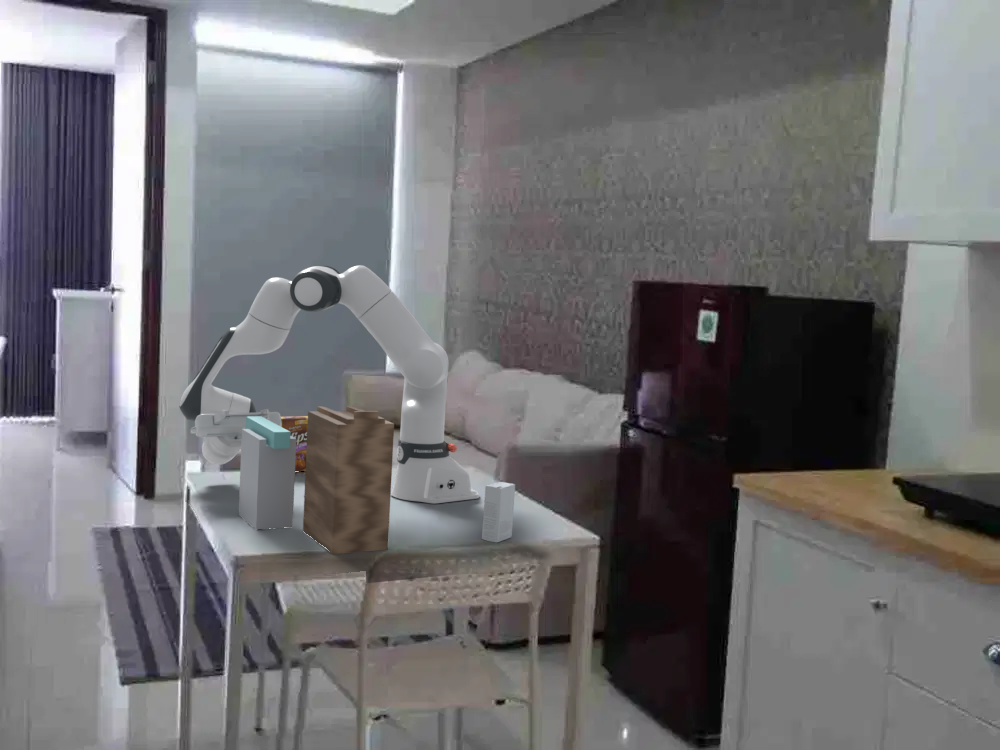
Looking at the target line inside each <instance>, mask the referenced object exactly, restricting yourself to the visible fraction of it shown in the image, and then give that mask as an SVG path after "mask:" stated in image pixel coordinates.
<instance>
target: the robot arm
mask: <svg viewBox="0 0 1000 750" xmlns="http://www.w3.org/2000/svg"><path fill="white" fill-rule="evenodd" d="M337 304H339V305H340V304H341V305H343V306H345V307H346V308H348V310H349V311H350V312H351V313H352V314H353V315H354V316H355V318H356V319H357V320H358V321H359V322H360V323H361V324H362V326H363V327H364V328H365V329H366V330H367V331H368V333H369V334H370V335H371V336H372V337H373V339H375V341H376V342H377V344H378V345H379V346H380V347H381V349H382V350H383V352H385V354H386V356H387V357H388V358H389V359H390V360H391V362H392V363H393V365H394V366H395V367H396V369H397V370H398V371H399V372H400V374H401V375H402V376H403V377H404V378H403V379H404V380H403V392H402V403H401V412H400V413H401V414H400V415H401V416H400V430H399V431H400V436H399V439H398V442H397V450H396V453H397V454H396V456H397V458H396V460H397V467H396V473H395V477H394V481H393V482H394V483H393V486H392V487H391V496H392V497H394V498H396V499H400V500H405V501H410V502H411V501H412V502H422V503H426V504H442V503H450V502H458V501H464V500H466V501H467V500H474V499H479V497H480V494H479V492H478V491H477V490H475V488H472V487H471V478H470V474H469V472H468V471H467V470H466V468H464V467H463V466H462V465H460V463H458V461H456V460H455V459H453V458H452V457H451V456H450V452H451V453H454V454H455V453H456V452H457V451H458V448H457V447H458V446H457V445H456V444H454V443H448V442H446V441H444V439H445V421H446V407H447V393H448V392H447V391H448V390H447V389H448V377H449V375H448V374H449V356H448V354H447V352H446V350H445V349H444V347H443V346H441V345H440V344H439V343H437V342H434V341H433V340H432V338H431V337H430V336H429V335H428V333H427V332H426V331H425V329H424V328H423V327H422V326H421V324H420V323H419V322H418V320H417V318H415V316H414V315H413V314H412V313H411V311H410V310H409V309H408V308H407V307H406V306H405V304H404V303H403V302H402V301H401V299H400V298H399V297H398V296H397V295H396V294H395V292H394V291H393V290H392V289H391V288H390V287H389V285H387V283H385V282H384V281H383V279H382V278H381V277H379V276H378V275H377V274H376V273H375V272H373V270H372V269H370V268H369V267H367V266H365V265H362V264H360V265H359V264H358V265H355V266H352V267H349V268H348V269H347V270H345V271H343V272H342V273H340V271H338V269H337V270H336V268H334V267H332V266H328V265H321V266H319V265H317V266H316V265H315V266H314V265H313V266H311V267H307V268H304V269H302V270H301V271H299V272H297V274H295V276H294V277H293V278H292V280H289V279H286V278H283V277H271V278H269V279H267V280H266V281H265V282H264V283H263V285H262V286H261V288H260V290H259V291H258V292H257V294H256V296H255V298H254V300H253V303H252V304H251V306H250V308H249V311H248V313H247V315H246V317H245V318H244V320H242V321H241V323H240V324H238V325H236V326H232V327H228V329H227V330H226V331H225V332H224V333H223V334H222V335H221V336H220V338H219V340H218V342H216V344H215V345H214V347H213V349H212V350H211V352H210V354H209V355H208V356H207V358H206V359H205V361H204V363H203V364H202V366H201V368H200V369H199V371H198V372H197V374H196V375H195V377H194V378H193V379H192V381H191V382H190V384H189V385H188V386H187V387H186V388H185V389H184V391H183V393H182V395H181V398H180V400H179V410H180V412H181V413H182V415H183V416H184V418H185V419H186V420H187V421H192V422H194V426H193V427H191V428H190V429H189V432H190V434H191V435H193V434H194V435H195V436H196V437H198V438H204V440H203V442H202V445H201V454H202V456H203V457H204V459H205V460H206V461H207V462H209V463H210V464H213V465H217V466H218V465H224V464H227V463H229V462H230V461H231V460H232V459H234V458H235V457H236V456H237V454H239V452H240V451H241V438H242V429H246V416H262V417H264V418H265V419H267V420H269V421H271V422H273V423H275V424H277V425H279V426H280V427H281V426H282V422H281V413H280V412H278V411H270V409H269V408H265V409H264V408H263V409H261V410H260V411H259V412H257V411H256V410H257V409H256V407H255V405H254V402H253V401H252V399H251V398H250V397H247V396H245V395H244V396H243V395H242V394H239V393H235V392H232V391H228V390H226V389H222V388H219V387H218V386H214V385H213V384H212V383H213V382H214V380H216V379H215V378H216V377H217V375H218V374H219V372H220V370H221V369H222V368H223V366H224V365H225V363H226V362H227V361H228V360H229V359H231V358H233V357H236V356H243V355H246V356H247V355H265V354H269V353H272V352H273V353H274V352H275V351H277V350H279V349H280V348H281V347H282V346H283V344H284V343H285V341H286V339H287V338H288V335H289V333H290V331H291V329H292V326H293V323H294V321H295V319H296V317H297V315H298V314H299V312H300V311H301V310H302V311H304V312H309V313H318V312H322V311H326V310H329V309H331V308H333V307H335V306H336V305H337Z"/></svg>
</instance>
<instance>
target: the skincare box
mask: <svg viewBox="0 0 1000 750" xmlns="http://www.w3.org/2000/svg"><path fill="white" fill-rule="evenodd" d="M515 492H516V484H515V483H510V482H504V481H498V482H494V483H491V484H487V485H485V491H484V500H483V502H484V503H483V504H484V505H483V515H482V516H483V517H482V529H481V530H482V531H481V532H482V533H481V539H482V540H484V541H487V542H490V543H500V542H503V541H505V540H509V539H510V538H512V535H513V522H514V521H513V520H514V508H515V506H514V505H515V494H516V493H515Z"/></svg>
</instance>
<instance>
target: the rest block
mask: <svg viewBox="0 0 1000 750" xmlns="http://www.w3.org/2000/svg"><path fill="white" fill-rule="evenodd" d="M295 458H296V438H294V437H292V436H291V435H290V448H281V449H273V448H272V447H270V446H268V445H267V444H266V439H265V438H263V437H262V436H260V435H258V434H256V433H255V432H253V431H251V430H250V429H242V438H241V449H240V469H239V471H240V472H239V473H240V474H239V497H238V500H239V501H238V516H240V518H241V519H243V520H244V521H245V520H246V521H247V522H248V523H247V522H246V521H245V522H246V523H247V524H248V525H250V527H252V526H253V527H254V528H255V529H265V530H270V529H269V528H279V529H285V528H284V527H293V524H294V505H295V504H294V501H295V479H296V475H295V474H296V472H295ZM253 527H252V528H253ZM254 528H253V529H254ZM255 529H254V530H255Z"/></svg>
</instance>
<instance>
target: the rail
mask: <svg viewBox="0 0 1000 750" xmlns="http://www.w3.org/2000/svg"><path fill="white" fill-rule="evenodd" d="M246 429H250V430H251V431H253V432H255V433H256V434H258V435H260V436H262V437H263V438H265V439H266V444H267V445H268V446H270V447H272V448H273V449H281V448H290V434H291V432H290V431H288V430H286V429H284V428H282V427H280V426H279V425H277V424H275V423H273V422H271V421H269V420H267V419H265V418H264V417H262V416H246Z"/></svg>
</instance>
